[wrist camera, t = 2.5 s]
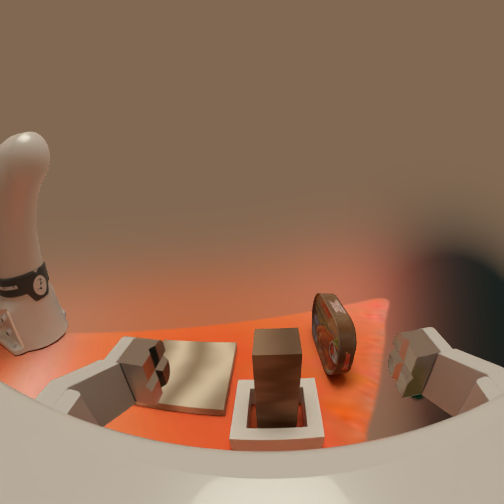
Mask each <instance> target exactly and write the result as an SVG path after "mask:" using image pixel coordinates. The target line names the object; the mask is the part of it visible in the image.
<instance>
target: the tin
mask: <svg viewBox="0 0 504 504" xmlns="http://www.w3.org/2000/svg"><path fill="white" fill-rule="evenodd" d="M312 333H313V338H314V342H315V345H316V348H317V350H318V353H319V356H320V359H321V362H322V365H323V368H324V370H325V372H326V373H327V374H328V375H332V374H341V373H346V372H348V371H349V370H350V369H351V365H352V363H353V359H354V354H355V351H356V332H355V327H354V324H353V321H352V319H351V318H350V316H349V315H348V313H347V312H346V310H345V309H344V307H343V305H342V304H341V303H340V301H339V300H338V298H337V297H336V295H334V294H320V293H317V294H316V296H315V299H314V303H313V309H312Z"/></svg>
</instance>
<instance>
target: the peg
mask: <svg viewBox="0 0 504 504" xmlns="http://www.w3.org/2000/svg"><path fill="white" fill-rule="evenodd" d="M252 359H253V374H254V388H255V402H256V416H257V428H295V427H296V425H297V415H298V404H299V392H300V379H301V365H302V349H301V343H300V337H299V331H298V328H280V329H255V332H254V342H253V352H252Z"/></svg>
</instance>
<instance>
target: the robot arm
mask: <svg viewBox="0 0 504 504" xmlns="http://www.w3.org/2000/svg"><path fill="white" fill-rule="evenodd" d="M49 163H50V152H49V148H48V145H47V143H46V141H45V140H44V138H43V137H42V136H40V135H39V134H37V133H35V132H25V133H20V134H17V135H14V136H11V137H9V138H8V139H7V140H6V141H4V142H3V143H2V144H1V145H0V344H2V345H3V346H4V347H5V348H6V349H8V350H9V351H10V352H11V353H12V354H14V355H20V354H22V353H25V352H27V351H30V350H36V349H40V348H43V347H45V346H47V345H50V344H51V343H53V342H55V341H56V340H58V339H59V338H60V337H61V336H62V335H63V334H64V333H65V332H66V330H67V328H68V322H67V320H66V318H65V317H66V313H65V311H64V310H62V309H61V307H60V304H59V302H58V299H57V297H56V294H55V292H54V289H53V287H52V285H51V284H50V283H49V282H48V280H49V277H48V273H47V268H46V265H45V262H43V260H42V256H41V251H40V246H39V240H38V234H37V225H36V212H37V203H38V195H39V189H40V186H41V183H42V181H43V179H44V177H45V175H46V173H47V171H48V168H49ZM393 345H394V347H395V348H394V349H393V350H392V352H391V353H390V356H389V360H388V368H389V372H390V375H391V377H392V378H394V379H395V380H397V384H396V387H397V389H398V391H399V393H400V395H401V397H402V398H404V397H409V396H413V395H418V394H422V395H423V396H425V397H426V398H428V399H429V400H431V401H432V402H433V403H435V404H436V405H438V406H439V407H440V408H442V409H443V410H444V411H446V412H447V413H449V414H450V415H452V416H453V417H452V418H449V419H446V420H444V421H441V422H438V423H435V424H432V425H430V426H426V427H423V428H420V429H417V430H413V431H410V432H406V433H403V434H399V435H395V436H391V437H387V438H382V439H378V440H373V441H368V442H363V443H357V444H351V445H345V446H338V447H330V448H321V449H310V450H296V451H233V450H219V449H208V448H199V447H191V446H184V445H178V444H172V443H166V442H161V441H156V440H151V439H146V438H142V437H138V436H134V435H130V434H126V433H122V432H119V431H115V430H112V429H108V428H105V427H103V426H105V425H106V424H108V423H109V422H111V421H112V420H113V419H115V418H116V417H118V416H119V415H120V414H122V413H123V412H124V411H126V410H127V409H128V408H130V407H131V406H133V405H134V404H135V403H136V402H139V403H145V404H152V405H158V402H159V400H160V398H161V396H162V394H163V391H162V387H163V386H165V385H166V384H167V383H168V380H169V376H170V365H169V361H168V359H167V358H166V357H165V356H164V355H163V354H164V352H165V347H164V343H163V342H162V341H161V340H153V339H144V338H135V337H122V338H121V340H120V341H119V342H118V343H117V344H116V346H115V347H114V348H113V349H112V351H111V352H110V353H109V354H108V356H107V357H106V358H105V359H104V360H98V361H96V362H94V363H92V364H89V365H87V366H85V367H83V368H80V369H78V370H76V371H73V372H71V373H69V374H66V375H64V376H62V377H59V378H57V379H54V380H52V381H50V382H49V384H48V385H47V386H46V387H45V388H44V389H43V390H42V392H41V393H40V394H39V395H38V396H37V397H36V399H35V400H34V399H32V398H30V397H28V396H26V395H25V394H23V393H21V392H19V391H17V390H15V389H13V388H12V387H10V386H8V385H6V384H5V383H3V382H1V381H0V504H504V368H503V367H500V366H498V365H495V364H492V363H490V362H488V361H485V360H483V359H480V358H478V357H475V356H472V355H470V354H468V353H465V352H462V351H460V350H458V349H452V348H451V347H450V346H449V345H448V344H447V342H446V341H445V340H444V339H443V338H442V337H441V335H440V334H439V333H438V332H437V331H436V330H435V329H434V328H432V327H427V328H423V329H419V330H414V331H408V332H402V333H396V335H395V336H394V339H393Z"/></svg>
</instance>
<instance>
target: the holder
mask: <svg viewBox="0 0 504 504" xmlns="http://www.w3.org/2000/svg"><path fill="white" fill-rule="evenodd" d="M299 404H302V413H303V423H304V427H295V428H250V417H251V405H256V402H255V388H254V380H238V385H237V392H236V398H235V405H234V411H233V418H232V424H231V431H230V437H229V440H230V445H231V449H232V450H233V451H296V450H310V449H321V448H322V445H323V441H324V437H325V436H324V430H323V424H322V418H321V412H320V406H319V400H318V394H317V389H316V383H315V378H303V379H300V392H299Z"/></svg>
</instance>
